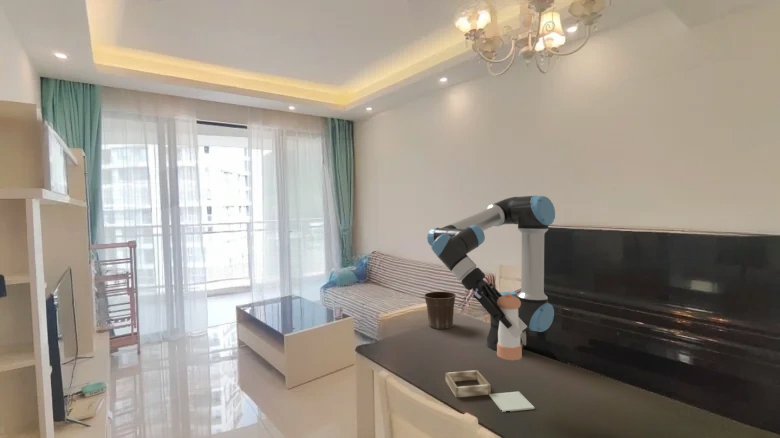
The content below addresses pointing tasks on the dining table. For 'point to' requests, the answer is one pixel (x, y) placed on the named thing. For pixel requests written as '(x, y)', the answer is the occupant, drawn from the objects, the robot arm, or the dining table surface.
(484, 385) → the birch surround
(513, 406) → the sage pad
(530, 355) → the dining table surface
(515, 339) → the pepper shaker
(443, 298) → the plant pot
